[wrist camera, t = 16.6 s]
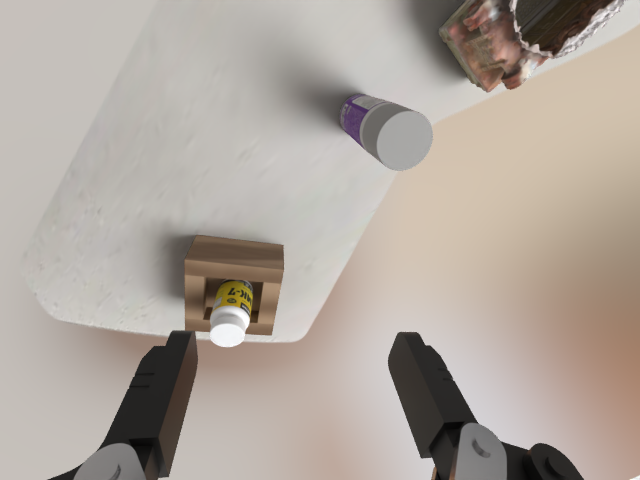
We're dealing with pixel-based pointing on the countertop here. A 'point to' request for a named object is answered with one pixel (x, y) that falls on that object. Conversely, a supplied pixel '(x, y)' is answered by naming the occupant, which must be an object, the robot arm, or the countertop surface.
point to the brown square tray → (238, 264)
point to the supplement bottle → (231, 312)
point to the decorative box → (519, 35)
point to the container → (387, 130)
